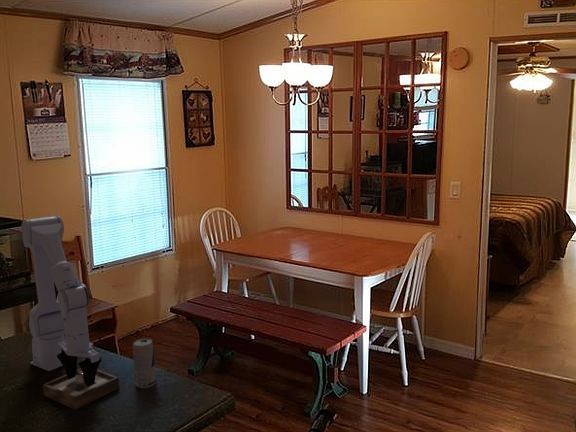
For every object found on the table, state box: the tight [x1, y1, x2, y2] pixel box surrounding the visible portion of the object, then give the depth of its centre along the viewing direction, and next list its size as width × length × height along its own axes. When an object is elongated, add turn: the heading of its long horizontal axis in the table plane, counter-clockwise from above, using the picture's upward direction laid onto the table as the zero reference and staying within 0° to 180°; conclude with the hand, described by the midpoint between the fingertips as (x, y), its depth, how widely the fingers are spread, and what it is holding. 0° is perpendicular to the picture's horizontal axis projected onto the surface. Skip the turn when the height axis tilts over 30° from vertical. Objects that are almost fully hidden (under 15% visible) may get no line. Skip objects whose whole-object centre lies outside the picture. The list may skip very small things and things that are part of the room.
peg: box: [75, 370, 90, 392], centre depth 149 cm, size 4×4×5 cm
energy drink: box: [132, 337, 157, 389], centre depth 151 cm, size 5×5×12 cm
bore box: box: [42, 367, 120, 411], centre depth 149 cm, size 13×13×3 cm
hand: (81, 381), depth 148 cm, fingers open, 7 cm apart
